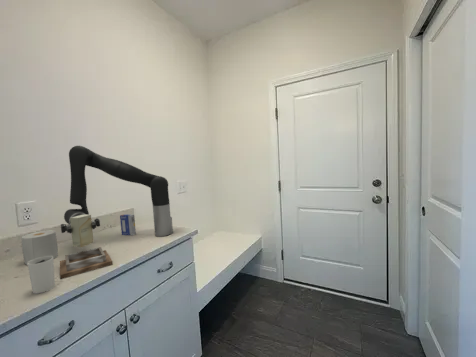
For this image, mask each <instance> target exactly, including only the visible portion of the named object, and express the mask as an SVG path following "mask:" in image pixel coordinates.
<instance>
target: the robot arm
mask: <svg viewBox="0 0 476 357" xmlns="http://www.w3.org/2000/svg"><path fill="white" fill-rule="evenodd" d="M68 160H69V167H70V168H69V169H70V192H69V193H70V194H69V204H72V205H76V206H80V207H81V208H69V209H66V211H65V212H64V215H63V219H64V221H65V223H66V224H65V223H61V224H60V232H61V234H64V233H67V234H72V231H71V222H70V218H72V217H75V216H79V215H90V211H89V209H88V204H87V194H88V192H87V191H88V189H87V188H88V187H87V180H86V167H91V168H95V169H98V170H100V171H102V172H104V173H105V174H107V175H110V176H112V177H113V178H117V179H118V180H121V181H122V180H123V181H126V182H128V183H129V182H130V183H135V184H139V185H143V186H145V187H147V188H150V196H151V197H150V198H151V204H152V214H153V216H152V217H153V227H154V235H155V237H167V236H169V235H172V234H174V229H173V217H172V216H171V207H170V206H171V205H170V204H171V203H170V195H169V181H168V180H167V178H166V177H163V176H159V175H156V174H152V173H149V172H146V171H144V170H142V169H140V168H139V167H136V166H134V165H131V164H129V163H127V162H124V161H121V160H118V159H114V158H110V157H105V156H103V155H100V154H98V153H96V152H95V151H92V150H91V149H89V148H87V147H85V146H82V145H74V146H73V147H71V148H70V150H69V151H68ZM100 226H101V221H100V219H99V218H95V219H94V220H92V230H95V229H96V228H97V227H98V228H99V227H100Z"/></svg>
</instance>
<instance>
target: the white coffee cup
mask: <svg viewBox="0 0 476 357" xmlns="http://www.w3.org/2000/svg"><path fill="white" fill-rule="evenodd" d="M27 264H28V265H27ZM27 264H26V265H27V270H28V276H29V280H30V284H31V285H30V286H31V291H32V294H43V293H45V291H46V292H47V291H48V292H49V291H50V290H52V289H53V288H55V287H56V284H55V266H54V265H55V264H54V259H53V256H44V257H39V258H36V259H33V260H31V261H29V262H28V263H27Z"/></svg>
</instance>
